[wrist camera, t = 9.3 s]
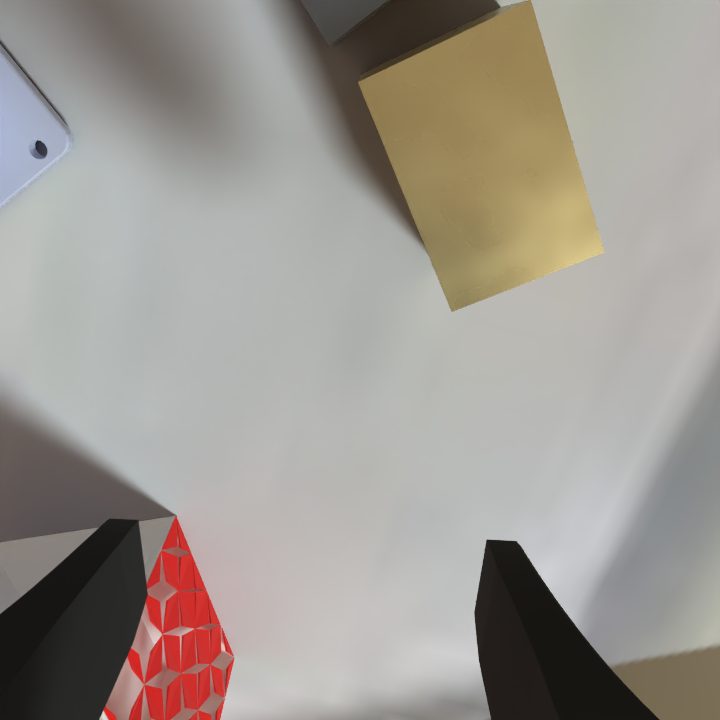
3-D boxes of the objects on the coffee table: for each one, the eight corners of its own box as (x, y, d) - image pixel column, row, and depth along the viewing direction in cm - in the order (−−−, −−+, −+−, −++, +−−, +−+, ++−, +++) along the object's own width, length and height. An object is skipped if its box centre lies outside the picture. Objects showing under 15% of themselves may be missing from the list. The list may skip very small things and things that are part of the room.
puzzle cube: (64, 678, 30) (-36, 881, 22) (-14, 542, 26) (-160, 730, 19) (236, 656, 29) (188, 861, 22) (178, 513, 25) (99, 699, 18)
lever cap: (439, 264, 21) (451, 312, 17) (361, 73, 18) (358, 82, 15) (563, 213, 20) (604, 252, 16) (499, 7, 18) (530, 0, 14)
